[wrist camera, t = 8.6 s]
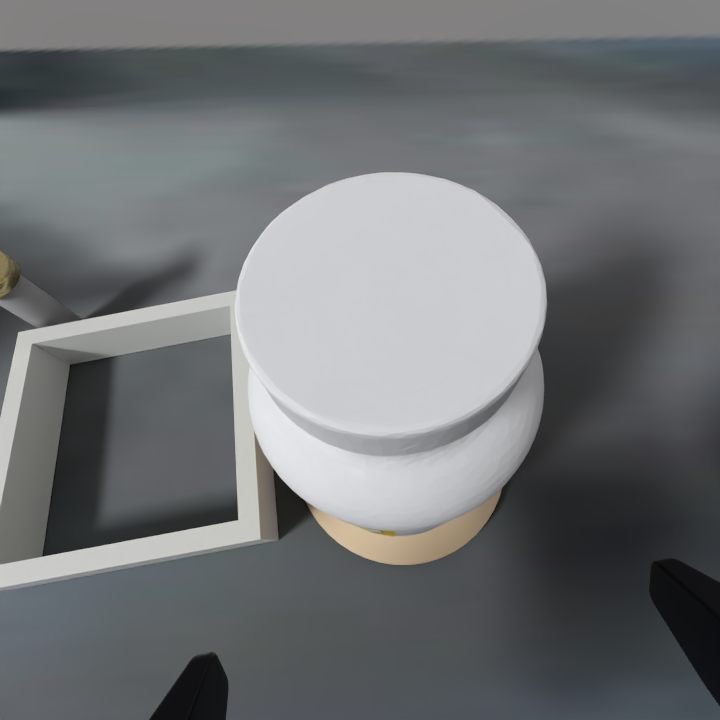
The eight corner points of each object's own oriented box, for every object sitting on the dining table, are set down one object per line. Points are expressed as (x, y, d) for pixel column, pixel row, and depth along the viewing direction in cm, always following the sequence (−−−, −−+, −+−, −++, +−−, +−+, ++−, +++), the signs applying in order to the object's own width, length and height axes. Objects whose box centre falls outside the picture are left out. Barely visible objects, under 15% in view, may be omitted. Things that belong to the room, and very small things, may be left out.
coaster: (545, 499, 17) (550, 498, 17) (351, 607, 16) (349, 609, 16) (434, 331, 21) (435, 325, 20) (271, 411, 20) (267, 407, 19)
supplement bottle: (452, 370, 19) (538, 98, 7) (493, 521, 16) (733, 467, 5) (310, 395, 19) (175, 165, 8) (328, 550, 16) (157, 567, 5)
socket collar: (278, 539, 17) (236, 538, 13) (19, 588, 17) (-115, 603, 13) (259, 287, 23) (224, 223, 18) (62, 325, 23) (-22, 270, 18)
